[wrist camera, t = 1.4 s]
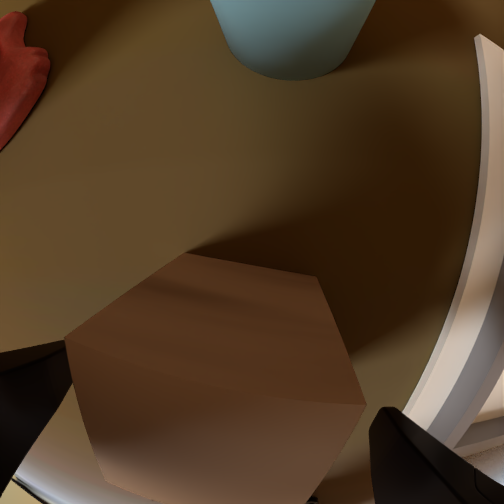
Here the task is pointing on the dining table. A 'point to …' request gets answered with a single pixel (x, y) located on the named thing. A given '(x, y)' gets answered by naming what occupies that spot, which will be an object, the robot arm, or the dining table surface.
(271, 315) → the walnut block
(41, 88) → the stacking bear
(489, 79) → the tray
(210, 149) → the dining table surface
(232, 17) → the teal cylinder
